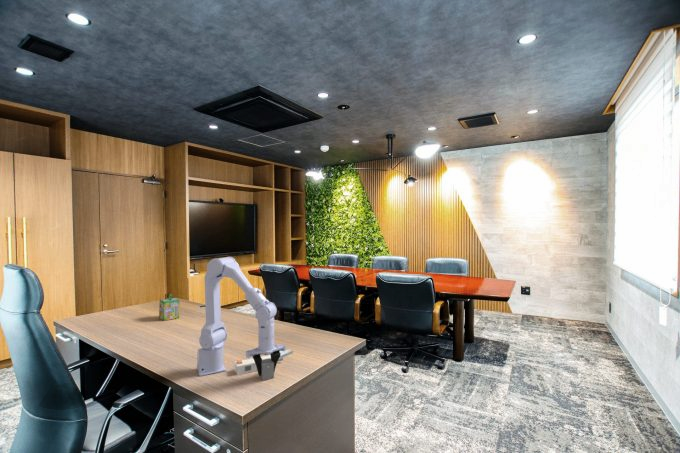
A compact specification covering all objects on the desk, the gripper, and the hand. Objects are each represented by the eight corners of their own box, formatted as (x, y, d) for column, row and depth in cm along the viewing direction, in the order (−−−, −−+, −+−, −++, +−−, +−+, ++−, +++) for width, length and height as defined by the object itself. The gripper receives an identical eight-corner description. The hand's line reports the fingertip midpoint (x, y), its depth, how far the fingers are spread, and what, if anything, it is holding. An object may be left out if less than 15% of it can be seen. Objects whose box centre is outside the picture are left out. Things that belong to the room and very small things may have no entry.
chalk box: (158, 318, 202) (158, 294, 202) (174, 315, 208) (175, 292, 208) (163, 321, 195) (163, 296, 195) (179, 318, 201) (179, 294, 201)
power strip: (237, 375, 123) (237, 364, 123) (234, 370, 128) (234, 360, 128) (285, 364, 133) (285, 355, 133) (281, 360, 137) (281, 351, 137)
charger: (262, 380, 118) (262, 365, 118) (257, 373, 124) (257, 358, 124) (274, 377, 121) (274, 362, 121) (268, 370, 127) (268, 356, 127)
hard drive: (293, 350, 145) (273, 344, 153) (279, 356, 139) (259, 349, 146) (293, 354, 145) (273, 348, 153) (279, 360, 139) (259, 353, 146)
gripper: (249, 343, 115) (249, 381, 115) (288, 336, 122) (288, 372, 122) (244, 337, 121) (244, 374, 121) (282, 331, 128) (282, 366, 128)
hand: (266, 373), depth 122 cm, fingers closed on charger, 4 cm apart
